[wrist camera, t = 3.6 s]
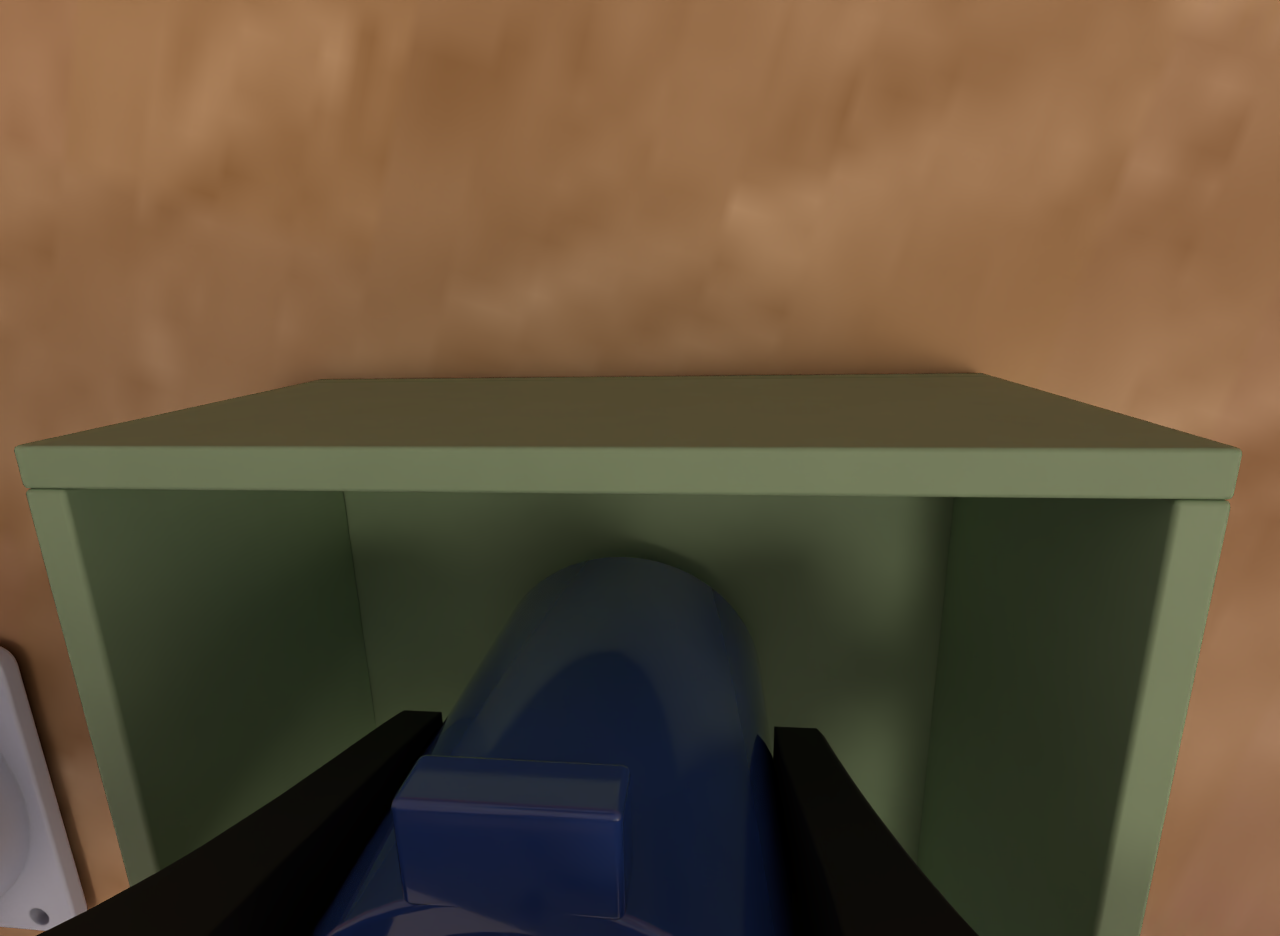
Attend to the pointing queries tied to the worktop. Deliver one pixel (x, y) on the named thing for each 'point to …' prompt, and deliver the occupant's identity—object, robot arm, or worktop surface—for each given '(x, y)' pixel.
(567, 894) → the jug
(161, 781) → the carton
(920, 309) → the worktop surface
